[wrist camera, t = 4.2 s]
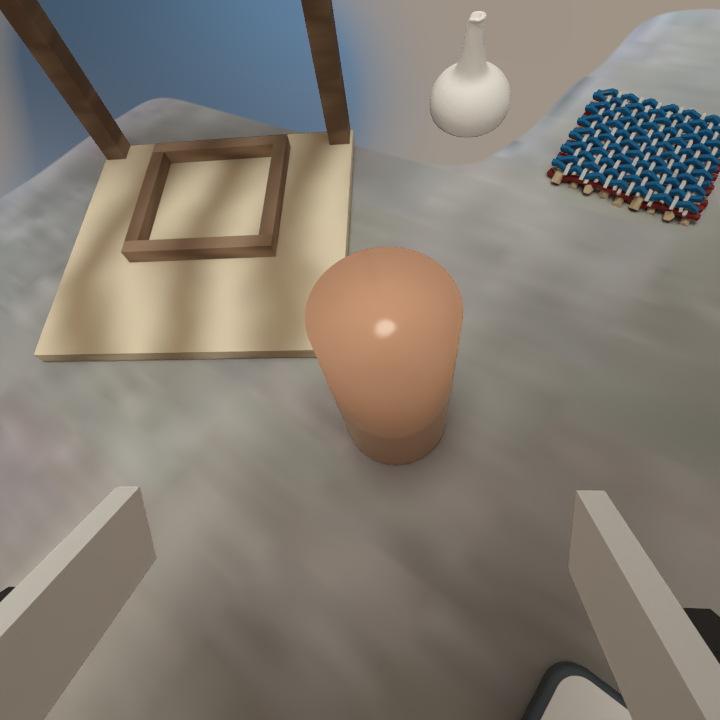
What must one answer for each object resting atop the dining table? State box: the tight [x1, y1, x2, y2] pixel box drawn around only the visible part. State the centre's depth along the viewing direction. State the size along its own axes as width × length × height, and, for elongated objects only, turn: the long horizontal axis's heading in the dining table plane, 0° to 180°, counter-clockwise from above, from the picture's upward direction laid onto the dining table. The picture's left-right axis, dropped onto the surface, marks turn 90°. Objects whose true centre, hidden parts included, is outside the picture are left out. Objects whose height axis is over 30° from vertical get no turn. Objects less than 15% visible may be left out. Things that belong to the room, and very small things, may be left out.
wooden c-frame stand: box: [0, 0, 354, 362], centre depth 27 cm, size 21×20×22 cm
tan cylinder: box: [305, 247, 463, 465], centre depth 23 cm, size 6×6×12 cm
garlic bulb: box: [430, 11, 510, 137], centre depth 36 cm, size 6×6×8 cm
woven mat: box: [547, 88, 720, 226], centre depth 35 cm, size 10×11×2 cm
